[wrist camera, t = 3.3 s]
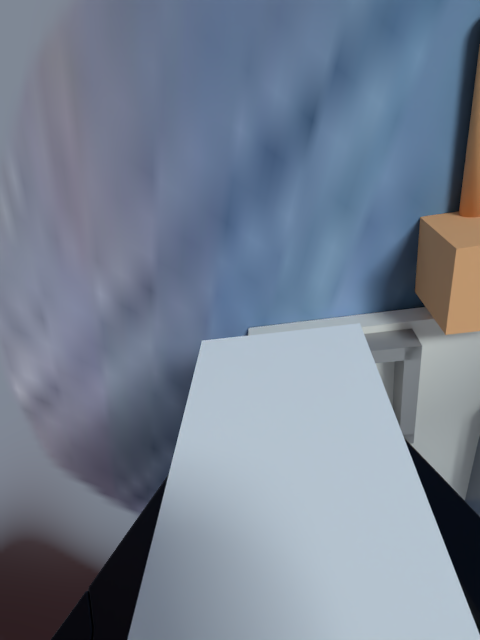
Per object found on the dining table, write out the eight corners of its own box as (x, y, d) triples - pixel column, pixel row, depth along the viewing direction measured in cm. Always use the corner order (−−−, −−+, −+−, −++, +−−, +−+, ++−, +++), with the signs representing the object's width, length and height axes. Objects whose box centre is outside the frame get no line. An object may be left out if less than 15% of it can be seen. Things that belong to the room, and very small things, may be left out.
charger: (359, 323, 9) (533, 775, 3) (360, 433, 11) (467, 833, 5) (202, 340, 10) (99, 751, 4) (230, 442, 12) (193, 811, 6)
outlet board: (648, 279, 18) (702, 307, 16) (562, 479, 27) (589, 516, 24) (248, 327, 21) (246, 357, 19) (282, 494, 30) (284, 528, 27)
